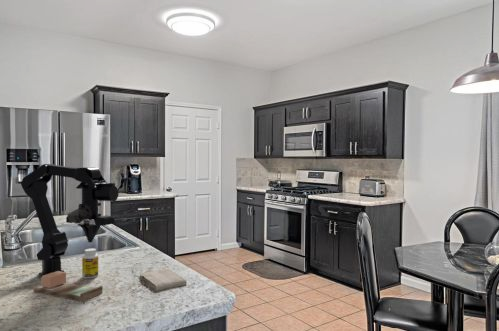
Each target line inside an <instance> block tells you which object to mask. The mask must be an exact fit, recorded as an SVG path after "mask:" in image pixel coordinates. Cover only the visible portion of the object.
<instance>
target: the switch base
mask: <svg viewBox="0 0 499 331" xmlns="http://www.w3.org/2000/svg"><path fill="white" fill-rule="evenodd" d="M103 288H104V287H103V285H99V286H96V287H92V286H87V285H82V284H81V285H80V284H76V283H75V284H74V283H71V282H66V283H63V284H60V285H58V286H55V287H52V288H47V287H42V284H41V285H38V286H36V287H33V292H35V293H40V294H45V295H49V296H55V297H60V298H64V299H69V300H73V301H74V300H75V301H79V302H85V301H88V300H89V299H92V298H94V297H96V296H98V295H101V294H103V291H104V290H103Z"/></svg>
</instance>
